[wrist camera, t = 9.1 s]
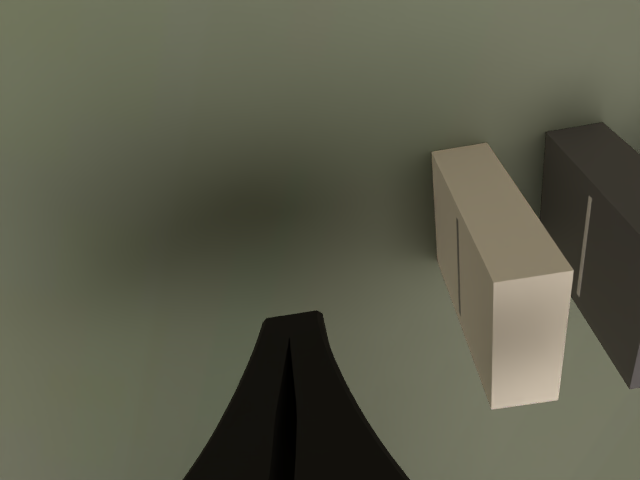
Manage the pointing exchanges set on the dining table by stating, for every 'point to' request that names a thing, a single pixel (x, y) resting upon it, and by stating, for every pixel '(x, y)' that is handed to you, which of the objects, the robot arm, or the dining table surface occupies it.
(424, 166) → the dining table surface
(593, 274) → the domino
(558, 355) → the domino
